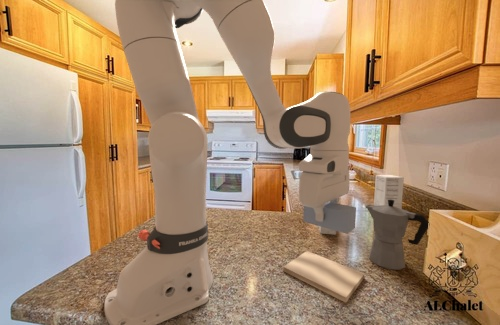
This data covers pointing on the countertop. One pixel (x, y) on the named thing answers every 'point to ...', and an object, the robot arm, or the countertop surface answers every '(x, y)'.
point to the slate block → (333, 217)
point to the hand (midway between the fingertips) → (326, 217)
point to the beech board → (325, 275)
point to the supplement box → (388, 190)
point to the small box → (326, 231)
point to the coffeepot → (392, 234)
